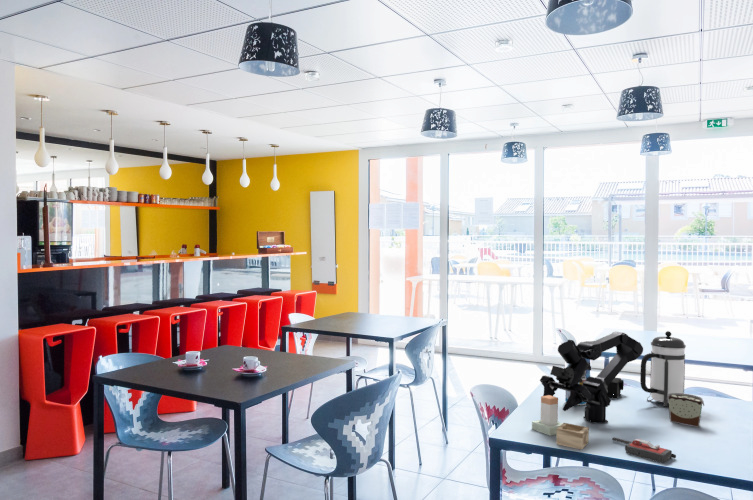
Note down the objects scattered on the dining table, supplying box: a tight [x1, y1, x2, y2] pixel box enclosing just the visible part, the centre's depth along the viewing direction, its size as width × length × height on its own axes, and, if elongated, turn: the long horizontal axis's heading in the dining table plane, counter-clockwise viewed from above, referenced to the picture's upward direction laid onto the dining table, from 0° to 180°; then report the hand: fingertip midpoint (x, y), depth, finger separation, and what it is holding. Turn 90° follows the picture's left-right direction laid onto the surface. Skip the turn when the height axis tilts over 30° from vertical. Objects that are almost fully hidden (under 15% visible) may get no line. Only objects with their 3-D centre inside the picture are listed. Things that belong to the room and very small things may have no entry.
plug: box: [540, 395, 559, 426], centre depth 197 cm, size 4×4×11 cm
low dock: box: [531, 419, 564, 436], centre depth 197 cm, size 8×8×3 cm
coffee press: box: [640, 330, 687, 408], centre depth 235 cm, size 17×16×30 cm
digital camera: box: [607, 377, 625, 399], centre depth 247 cm, size 10×5×7 cm, turn 149°
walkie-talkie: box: [612, 437, 677, 464], centre depth 177 cm, size 9×4×20 cm
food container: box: [667, 393, 705, 428], centre depth 210 cm, size 12×6×10 cm, turn 47°
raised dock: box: [555, 422, 590, 450], centre depth 184 cm, size 8×8×5 cm
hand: (553, 407), depth 198 cm, fingers open, 9 cm apart
